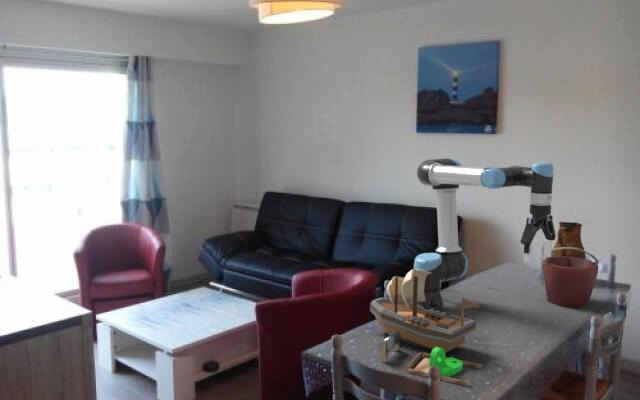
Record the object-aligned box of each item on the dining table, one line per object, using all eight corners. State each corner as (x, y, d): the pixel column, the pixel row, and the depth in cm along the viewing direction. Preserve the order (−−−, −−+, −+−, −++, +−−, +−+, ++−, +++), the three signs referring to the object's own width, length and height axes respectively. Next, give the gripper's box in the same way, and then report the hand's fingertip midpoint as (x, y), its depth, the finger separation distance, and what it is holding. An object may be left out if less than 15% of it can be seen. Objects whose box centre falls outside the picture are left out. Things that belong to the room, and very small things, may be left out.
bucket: (538, 306, 255) (541, 250, 251) (536, 292, 275) (539, 240, 272) (599, 312, 247) (603, 255, 243) (593, 297, 267) (596, 244, 264)
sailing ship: (386, 322, 233) (388, 257, 229) (489, 354, 202) (493, 279, 199) (361, 333, 221) (362, 265, 218) (466, 368, 191) (469, 289, 187)
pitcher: (589, 280, 295) (593, 223, 291) (573, 288, 280) (577, 228, 276) (557, 274, 307) (561, 218, 303) (539, 282, 292) (543, 224, 288)
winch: (378, 361, 196) (378, 341, 195) (392, 348, 207) (392, 329, 206) (388, 363, 194) (389, 343, 193) (402, 350, 205) (402, 331, 204)
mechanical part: (444, 379, 183) (445, 355, 181) (429, 372, 187) (430, 349, 186) (466, 368, 190) (467, 345, 189) (451, 362, 195) (452, 340, 194)
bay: (404, 371, 188) (404, 367, 188) (420, 355, 201) (420, 351, 201) (468, 386, 178) (469, 381, 178) (481, 367, 191) (481, 363, 191)
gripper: (531, 208, 206) (527, 266, 209) (567, 202, 221) (563, 256, 224) (512, 205, 212) (509, 261, 215) (549, 200, 227) (546, 252, 230)
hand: (537, 259), depth 219 cm, fingers open, 13 cm apart
